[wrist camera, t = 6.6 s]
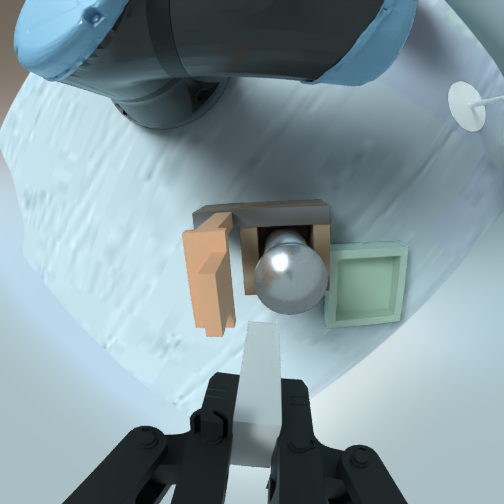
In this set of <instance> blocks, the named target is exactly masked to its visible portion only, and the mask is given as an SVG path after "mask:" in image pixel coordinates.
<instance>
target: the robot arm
mask: <svg viewBox="0 0 504 504" xmlns="http://www.w3.org/2000/svg"><path fill="white" fill-rule="evenodd" d="M416 8H417V0H26V2H25V4H24V6H23V8H22V10H21V12H20V15H19V18H18V21H17V24H16V28H15V34H14V49H15V53H16V55H17V57H18V59H19V62H20V64H21V65H22V66H23V67H24V68H25V69H26V70H28V71H30V72H33V73H35V74H37V75H39V76H41V77H43V78H44V79H46V80H48V81H51V82H53V81H57V82H61V83H64V84H68V85H71V86H74V87H78V88H81V89H84V90H87V91H90V92H93V93H97V94H100V95H103V96H106V97H108V98H111V100H112V101H113V103H114V104H115V106H116V107H117V109H118V110H119V111H120V112H121V113H122V114H123V115H124V116H125V117H126V118H128V119H129V120H131V121H132V122H134V123H137V124H139V125H142V126H146V127H150V128H155V129H169V128H175V127H179V126H182V125H185V124H188V123H190V122H192V121H194V120H196V119H197V118H199V117H200V116H202V115H203V114H204V113H206V112H207V111H208V110H209V109H210V108H211V107H212V106H213V105H214V104H215V103H216V102H217V100H218V99H219V97H220V96H221V94H222V93H223V91H224V89H225V87H226V84H227V81H228V78H229V77H256V78H273V79H286V80H297V81H301V83H303V84H310V85H314V84H318V83H327V84H336V85H344V86H360V85H363V84H365V83H367V82H369V81H373V80H375V79H377V78H378V77H379V76H381V75H382V74H383V73H384V72H385V71H386V70H387V69H388V68H389V67H390V66H391V65H392V63H393V62H394V61H395V59H396V58H397V56H398V55H399V53H400V51H401V50H402V48H403V46H404V44H405V42H406V40H407V38H408V36H409V33H410V31H411V28H412V25H413V22H414V18H415V14H416ZM190 427H191V430H190V431H189V432H186V433H183V434H176V435H164V434H163V432H161V431H160V430H159V429H157V428H155V427H151V426H140V427H137V428H134V429H133V430H131V431H130V432H129V433H128V434H127V435H126V436H125V437H124V439H122V441H121V442H120V443H119V444H118V445H117V446H116V447H115V448H114V449H113V450H112V451H111V453H110V454H109V455H108V456H107V457H106V458H105V459H104V460H103V461H102V462H101V463H100V464H99V465H98V467H97V468H96V469H95V470H94V471H93V472H92V473H91V474H90V475H89V476H88V477H87V478H86V479H85V480H84V481H83V482H82V484H81V485H80V486H79V487H78V488H77V489H76V490H75V491H74V492H73V493H72V494H71V495H70V496H69V497H68V498H67V499H66V500H65V501H64V502H63V503H62V504H159V503H160V502H161V500H162V499H163V497H164V496H165V494H166V493H167V491H168V490H169V488H170V487H171V485H173V484H176V487H175V490H174V494H173V497H172V501H171V504H224V502H225V494H226V489H227V481H228V474H229V466H230V464H233V465H241V466H252V467H264V468H270V466H271V474H270V477H269V481H268V484H267V487H266V489H268V504H408V503H407V502H406V500H405V498H404V497H403V495H402V493H401V492H400V490H399V489H398V487H397V485H396V484H395V482H394V481H393V479H392V477H391V476H390V474H389V472H388V471H387V469H386V467H385V466H384V464H383V462H382V461H381V459H380V457H379V456H378V454H377V453H376V452H375V451H374V450H373V449H371V448H370V447H368V446H364V445H353V446H351V447H348V448H347V449H346V450H345V451H342V450H338V449H333V448H330V447H327V446H325V445H323V444H321V443H320V442H319V441H318V440H317V439H316V437H315V436H314V432H313V425H312V417H311V409H310V402H309V394H308V388H307V386H306V385H305V384H304V382H303V381H302V380H298V379H283V378H281V369H280V337H279V324H273V323H263V322H254V321H248V327H247V334H246V340H245V347H244V353H243V360H242V366H241V373H240V375H236V374H228V373H221V372H216V373H215V374H214V375H213V376H212V377H211V378H210V380H209V383H208V387H207V390H206V394H205V397H204V401H203V404H202V408H201V409H198V410H197V411H195V412H194V413H193V414H192V415H191V417H190Z"/></svg>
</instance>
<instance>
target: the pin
mask: <svg viewBox="0 0 504 504" xmlns="http://www.w3.org/2000/svg"><path fill="white" fill-rule="evenodd" d="M327 283H328V275H327V270H326V267H325V265H324V263H323V261H322V259H321V258H320V256H319V255H318V254H317V253H316V251H314V250H313V249H312V248H310V247H309V246H307V244H306V242H305V239H304V237H303V235H302V233H301V231H300V229H299V228H298V227H297V226H296V225H288V226H272V227H271V228H270V229H269V230H268V232H267V234H266V238H265V250H264V254H263V255H262V257H261V258H260V260H259V261H258V263H257V266H256V269H255V275H254V287H255V291H256V293H257V296H258V297H259V299H260V300H261V302H262V303H263V304H264V305H265V306H266V307H268V308H269V309H271V310H273V311H275V312H277V313H281V314H298V313H302V312H305V311H307V310H309V309H311V308H312V307H314V306H315V305H316V304H317V303H318V302H319V301H320V300H321V298H322V297H323V295H324V293H325V291H326V288H327Z"/></svg>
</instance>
